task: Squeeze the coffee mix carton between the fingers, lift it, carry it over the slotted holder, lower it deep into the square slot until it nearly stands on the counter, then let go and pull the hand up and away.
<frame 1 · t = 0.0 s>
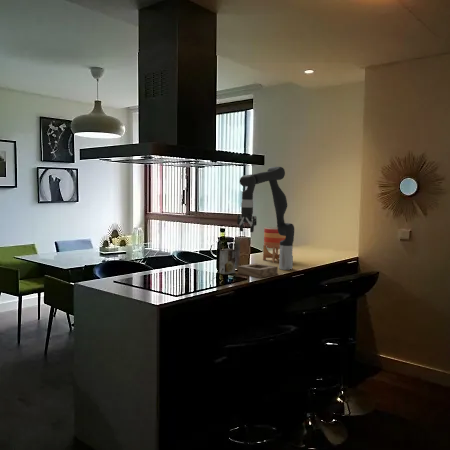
hand: (246, 231, 286), 29 cm above the worktop, fingers open, 8 cm apart
coffee box: (227, 273, 300), on the worktop
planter: (275, 260, 360), on the worktop
slot holder: (257, 273, 299), on the worktop
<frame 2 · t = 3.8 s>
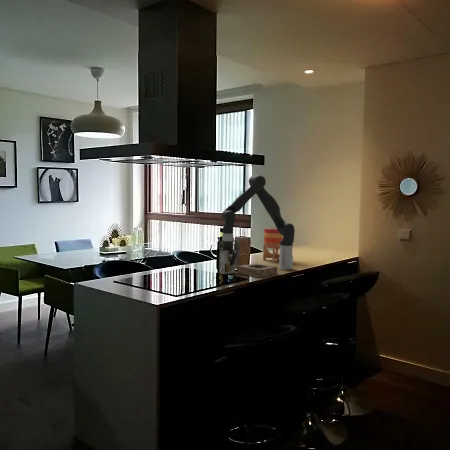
hand: (227, 264, 300), 6 cm above the worktop, fingers closed on coffee box, 7 cm apart
coffee box: (227, 273, 300), on the worktop, touching gripper
everything else where it was.
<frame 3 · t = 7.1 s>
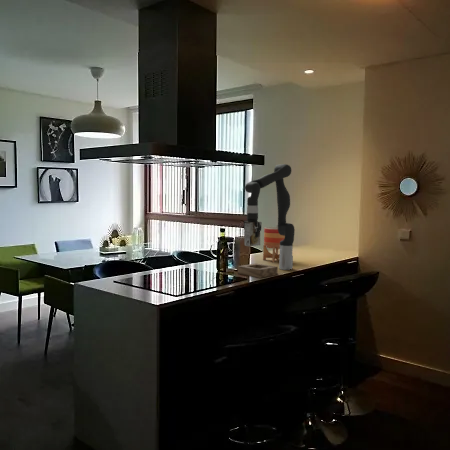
hand: (252, 236, 298), 25 cm above the worktop, fingers closed on coffee box, 7 cm apart
coffee box: (252, 245, 298), point 19 cm above the worktop, touching gripper
everything else where it was.
when the fingers open (7 cm above the worktop, at t = 10.8 s): coffee box drops 1 cm, resting in slot holder.
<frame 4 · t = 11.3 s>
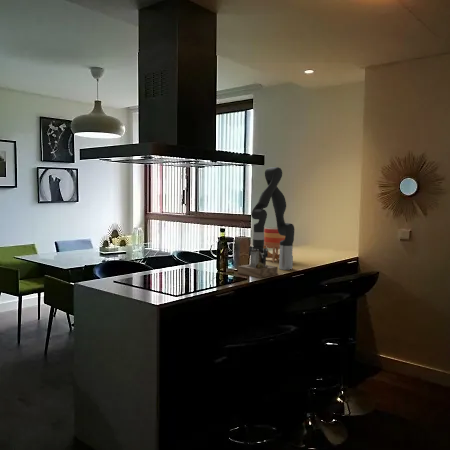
hand: (257, 262, 298), 8 cm above the worktop, fingers open, 8 cm apart
coffee box: (257, 274, 299), resting in slot holder
everything else where it was.
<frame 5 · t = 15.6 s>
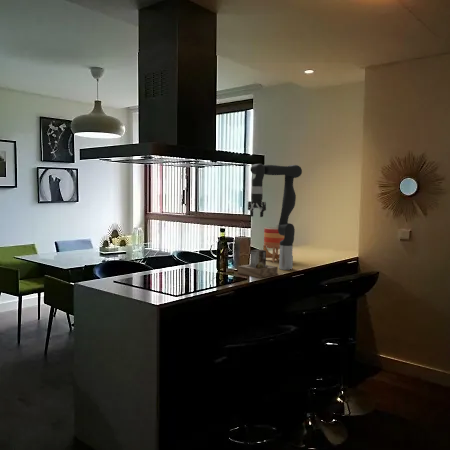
hand: (256, 216, 305), 38 cm above the worktop, fingers open, 8 cm apart
nothing on the worktop moved.
at the end: coffee box 0.1 cm off-centre on the slot holder, point 0.0 cm above the slot holder's base; coffee box tilted 0°; the gripper is holding nothing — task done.
